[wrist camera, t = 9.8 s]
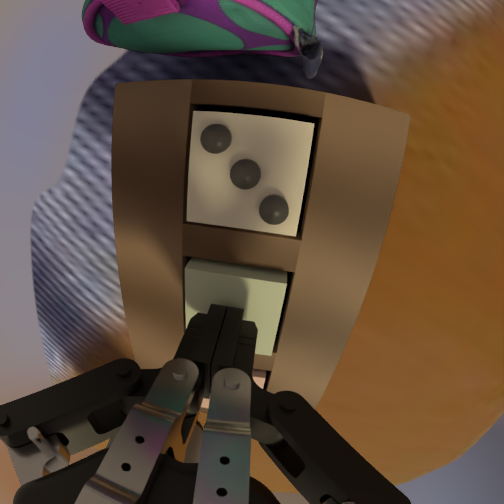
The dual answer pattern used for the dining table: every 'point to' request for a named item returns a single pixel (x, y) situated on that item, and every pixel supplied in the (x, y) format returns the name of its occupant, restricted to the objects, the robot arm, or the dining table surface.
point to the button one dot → (237, 294)
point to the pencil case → (208, 27)
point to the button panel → (250, 241)
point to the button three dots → (247, 171)
